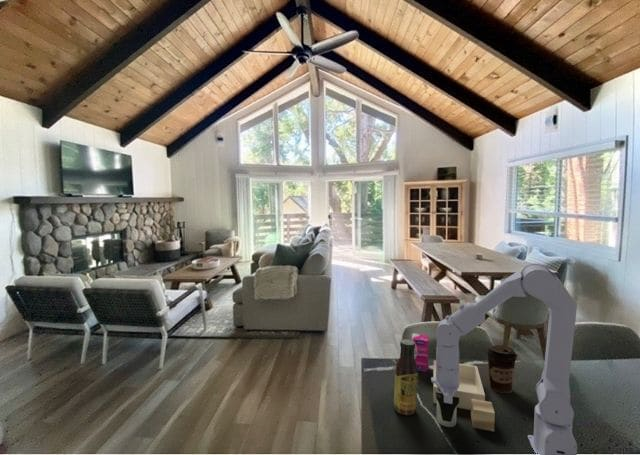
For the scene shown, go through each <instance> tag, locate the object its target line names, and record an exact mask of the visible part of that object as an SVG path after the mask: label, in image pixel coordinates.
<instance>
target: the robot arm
mask: <svg viewBox="0 0 640 455" xmlns="http://www.w3.org/2000/svg"><path fill="white" fill-rule="evenodd" d="M526 293H528V295H530V296H532V297H533V298H535V299H537V300H540V301H542V303H544V304H545V305H546V307H548V308H549V313H548V314H549V316H548V322H547V324H548V326H547V336H546V345H545V354H544V366H543V371H542V373H541V378H540V380H539V381H538V382H537V383H536V385H535V392H536V395H537V399H538V403H537V404H536V405H535V406H534V413H533V414H534V419H533V435H531V434H528V435H527V438H528V441H529V443H530V446H531V448H533V449H532V450H534V451H533V453H534V452H535V453H536V454H537V453H538V454H540V455H578V444H577V441H576V439H575V436H574V434H573V420H574V418H575V412H574V409H573V407H572V405H571V391H570V376H571V375H570V374H571V366H572V356H573V347H574V338H575V337H574V336H575V328H576V318H577V309H578V307H577V303H576V301H575V300H574V298H573V297H572V296H571V293H570V292H569V291H568V290H567V288H566V287H565V286H564V284H563V282H562V281H561V279H559V278H558V276H557V275H556V274H555V273H554V271H551V270H550V269H549V268H548V267H547V266H545V265H543V264H540V263H530V264H527V265H526V266H524V267H523V268H522V270H518V271H515V272H514V273H513V274H511V275H510V276H509V277H507V278H505V279H504V280H503V281H502V282H501V283H499V284H498V285H497V286H496V287H494V288H493V289H492V290H490V291H489V292H488V293H486V295H484V296H483V297H482V298H481V299H479V300H478V301H477V302H469V301H468V302H467V303H463V302H462V303H461V304H460V305H459V306H458V309H457V310H456V311H455V312H453V313H452V314H450V315H449V314H447V315H446V316H445V317H444V318H443V319H442V320H441V321H439V323H438V325H437V327H436V328H435V332H434V333H435V334H434V335H435V340H436V348H435V349H436V352H435V356H436V357H435V358H436V359H435V360H436V377H433V376H431V378H430V380H431V383H432V384H433V383H435V384H436V385H437V387H438V389H439V391H441V392H442V393H439V392H436V398H437V401H438V403H439V405H440V409H441V415H442V419H443V421H448V422H451V421H452V417H453V413H454V410H455V408H456V406H457V405H458V404H459V397H453V395H454V394H455V392H456V391H457V390H458V388H459V364H460V349H459V347H460V346H459V345H460V344H459V342H460V337H462V336H466V335H467V334H468V333H470V332H471V331H473V330H474V329H476V328H477V327H478V326H480V325H481V324H483V323H484V322H485V320H486V314H487V313H489V312H490V311H492V310H494V309H495V308H497V307H499V306H500V305H501V304H502V303H505V302H506V301H507V300H508V299H510V298H513V297H518V298H519V297H520V298H526V297H527V294H526ZM535 453H534V454H535Z"/></svg>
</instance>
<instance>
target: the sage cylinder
mask: <svg viewBox="0 0 640 455" xmlns="http://www.w3.org/2000/svg"><path fill="white" fill-rule="evenodd" d="M439 393H442V392H441V391H439ZM453 397H456V395H455V394H454V395H453ZM457 411H458V410H457V406H456V408H455V410H454V413H453V417H452V421H451V422H448V421H443V419H442V415H441V409H440V405H439V403H438V401H437V404H436V419H435V420H436V422H438V423H439V425H441V426H443V427H446V428H453V427H455V426H456V425H457V413H458V412H457Z"/></svg>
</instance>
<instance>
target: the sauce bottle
mask: <svg viewBox="0 0 640 455" xmlns="http://www.w3.org/2000/svg"><path fill="white" fill-rule="evenodd" d="M414 349H415V342H414V341H412V339H405V338H404V339H401V340H400V356H399V357H398V359H397V361H396V364H395V372H394V374H395V375H394V390H393V391H394V392H393V403H394V404H393V407H394V410H395V411H396V412H397V413H398V414H400V415H404V416H412V415H414V413H416V409H417V401H418V399H417V398H418V381H419V380H418V378H419V371H417V365H416V361H415V359H414Z"/></svg>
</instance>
